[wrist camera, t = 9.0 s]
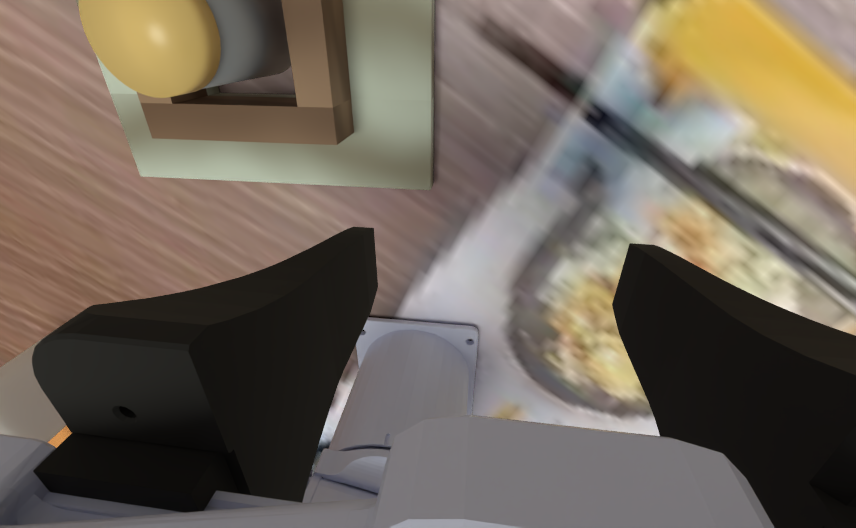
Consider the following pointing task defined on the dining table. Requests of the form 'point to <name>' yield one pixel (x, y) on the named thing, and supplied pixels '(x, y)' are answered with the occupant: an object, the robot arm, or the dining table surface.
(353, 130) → the holder
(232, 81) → the yellow capped shaker
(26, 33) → the dining table surface
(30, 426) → the eye dropper bottle
